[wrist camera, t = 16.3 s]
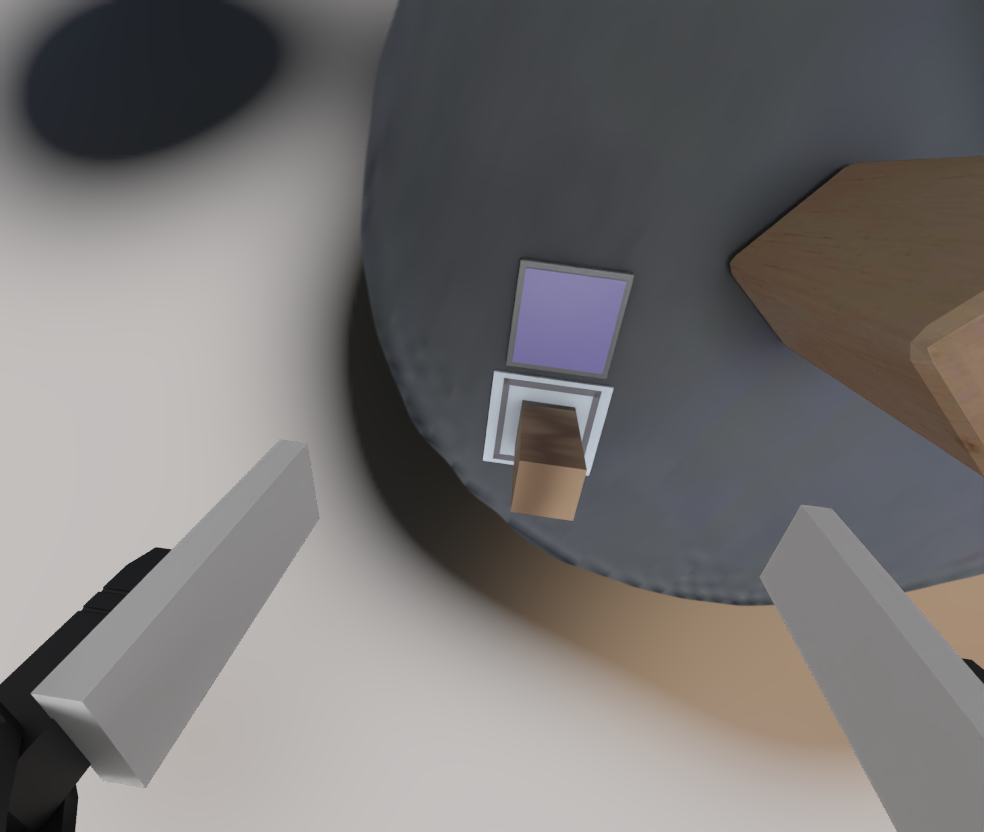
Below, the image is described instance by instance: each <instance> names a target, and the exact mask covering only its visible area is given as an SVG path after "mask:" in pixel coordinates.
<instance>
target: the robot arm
mask: <svg viewBox="0 0 984 832" xmlns="http://www.w3.org/2000/svg"><path fill="white" fill-rule="evenodd" d="M318 520H319V512H318V506H317V500H316V494H315V487H314V481H313V475H312V469H311V462H310V456H309V450H308V444H307V443H304V442H295V441H288V440H279V441H278V442H277V443H276V444H275V445H274V446H273V447H272V448H271V449H270V450H269V452H267V453H266V455H265V456H264V457H262V459H261V460H260V461H259V462H258V463H257V464H256V465H255V466H254V467H253V468H252V469H251V470H250V471H249V472H248V473H247V474H246V475H245V476H244V477H243V478H242V479H241V480H240V481H239V482H238V483H237V484H236V485H235V486H234V487H233V488H232V489H231V490H230V491H229V492H228V493H227V494H226V495H225V496H224V497H223V498H222V499H221V500H220V501H219V502H218V503H217V504H216V506H214V507H213V508H212V509H211V510H210V511H209V512H208V513H207V514H206V516H205V517H204V518H203V519H202V520H201V521H200V522H199V523H198V524H197V525H196V526H195V527H194V528H193V529H192V530H191V531H190V532H189V533H188V534H187V535H186V536H185V537H184V538H183V539H182V540H181V541H180V542H179V543H178V544H177V545H176V546H175V547H174V548H173V549H172V550H171V549H164V548H154V549H152V550H151V551H150V552H147V553H146V554H145V555H143V556H141V557H139V558H138V559H136V560H134V561H133V562H131V563H129V564H128V565H126V566H125V567H124V568H123V569H122V570H121V571H120V572H119V573H118V574H117V575H116V576H115V577H114V578H113V579H112V580H110V581H109V582H108V583H107V584H106V585H105V586H104V587H103V590H102V591H101V592H98V593H97V594H96V595H95V596H93V597H92V598H91V599H90V600H89V601H88V602H87V603H86V604H85V605H84V606H83V610H81V611H78V612H76V614H74V615H73V616H72V617H71V618H70V619H69V620H68V621H67V622H66V623H65V624H64V625H63V626H62V627H61V628H60V629H59V630H57V631H56V632H55V633H54V634H53V635H52V636H51V637H50V638H49V639H48V640H47V641H46V642H45V643H44V644H43V645H41V646H40V647H39V648H38V649H37V650H36V651H35V652H34V653H33V654H32V655H31V656H30V657H29V658H28V659H27V660H26V661H25V662H23V664H21V665H20V666H19V667H18V668H17V669H16V670H15V671H14V672H13V673H12V674H11V675H10V676H9V677H8V678H7V679H5V680H4V681H3V682H2V683H1V684H0V832H75V825H76V815H77V805H78V794H77V788H76V783H77V782H78V781H79V779H80V778H81V776H82V775H83V774H84V773H85V771H86V770H87V768H88V767H89V766H91V767H92V768H93V769H94V771H95V772H96V773H97V774H98V775H99V776H100V778H101V779H102V780H103V781H107V782H113V783H119V784H125V785H131V786H136V787H143V788H146V787H147V785H148V783H149V782H150V780H151V779H152V777H153V775H154V774H155V772H156V771H157V770H158V768H159V766H160V765H161V763H162V762H163V760H164V759H165V757H166V756H167V754H168V752H169V751H170V749H171V748H172V746H173V744H174V743H175V742H176V740H177V738H178V737H179V735H180V734H181V732H182V731H183V729H184V728H185V726H186V725H187V723H188V721H189V720H190V718H191V717H192V715H193V714H194V712H195V711H196V709H197V707H198V706H199V704H200V703H201V701H202V700H203V698H204V697H205V695H206V694H207V692H208V690H209V689H210V687H211V686H212V684H213V683H214V681H215V679H216V678H217V677H218V675H219V673H220V672H221V670H222V669H223V667H224V666H225V664H226V662H227V661H228V659H229V658H230V656H231V655H232V653H233V652H234V650H235V649H236V647H237V645H238V644H239V642H240V641H241V639H242V638H243V636H244V635H245V633H246V632H247V630H248V628H249V627H250V625H251V624H252V622H253V621H254V619H255V617H256V616H257V614H258V613H259V611H260V610H261V608H262V607H263V605H264V604H265V602H266V601H267V599H268V597H269V596H270V594H271V593H272V591H273V590H274V588H275V587H276V585H277V583H278V582H279V580H280V579H281V577H282V576H283V574H284V573H285V571H286V569H287V568H288V566H289V565H290V563H291V562H292V560H293V559H294V557H295V556H296V554H297V552H298V551H299V549H300V548H301V546H302V545H303V543H304V542H305V540H306V538H307V537H308V535H309V534H310V532H311V531H312V529H313V528H314V526H315V524H316V522H317V521H318ZM760 579H761V580H762V582H763V584H764V586H765V588H766V590H767V592H768V593H769V595H770V597H771V599H772V601H773V603H774V605H775V606H776V608H777V610H778V612H779V614H780V616H781V617H782V619H783V621H784V623H785V625H786V627H787V628H788V630H789V632H790V634H791V636H792V638H793V639H794V642H795V643H796V645H797V647H798V649H799V651H800V653H801V655H802V656H803V658H804V660H805V662H806V664H807V666H808V668H809V669H810V671H811V673H812V675H813V677H814V679H815V680H816V682H817V684H818V686H819V688H820V690H821V691H822V693H823V695H824V697H825V699H826V701H827V703H828V705H829V706H830V708H831V710H832V712H833V714H834V716H835V717H836V719H837V721H838V723H839V725H840V727H841V729H842V730H843V732H844V734H845V736H846V738H847V740H848V741H849V743H850V745H851V747H852V749H853V751H854V753H855V755H856V756H857V758H858V760H859V762H860V764H861V766H862V768H863V769H864V771H865V773H866V775H867V777H868V779H869V780H870V782H871V784H872V786H873V788H874V790H875V792H876V793H877V795H878V797H879V799H880V801H881V803H882V804H883V806H884V808H885V810H886V812H887V814H888V816H889V817H890V819H891V821H892V823H893V825H894V827H895V829H896V830H897V832H984V670H983V669H982V668H981V667H980V666H979V665H977V664H976V663H975V662H974V661H972V660H969V659H962V658H961V657H960V656H959V655H958V654H957V653H956V652H955V651H954V649H953V648H952V647H951V646H950V645H949V643H948V642H947V641H946V640H945V639H944V638H943V637H942V636H941V634H940V633H939V632H938V631H937V630H936V628H935V627H934V626H933V625H932V624H931V623H930V622H929V620H928V619H927V618H926V617H925V616H924V615H923V613H921V611H920V610H919V609H918V608H917V607H916V605H915V604H914V603H913V602H912V601H911V600H910V599H909V597H908V596H907V595H906V594H905V593H904V591H903V590H902V589H901V588H900V587H899V586H898V585H897V583H896V582H895V581H894V580H893V579H892V578H891V576H890V575H889V574H888V573H887V572H886V571H885V570H884V568H883V567H882V566H881V565H880V564H879V563H878V561H877V560H876V559H875V558H874V557H873V556H872V554H871V553H870V552H869V551H868V550H867V549H866V548H865V546H864V545H863V544H862V543H861V542H860V541H859V539H858V538H857V537H856V536H855V535H854V534H853V533H852V531H851V530H850V529H849V528H848V527H847V526H846V524H845V523H844V522H843V521H842V520H841V519H840V518H839V516H838V515H837V514H836V513H835V512H834V511H833V509H831V508H823V507H815V506H807V505H801V506H800V508H799V510H798V511H797V513H796V515H795V517H794V518H793V520H792V522H791V524H790V525H789V527H788V529H787V531H786V532H785V534H784V536H783V538H782V539H781V541H780V543H779V545H778V546H777V548H776V550H775V552H774V553H773V555H772V557H771V559H770V560H769V562H768V564H767V565H766V567H765V569H764V571H763V572H762V574H761V576H760Z"/></svg>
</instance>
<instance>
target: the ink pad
mask: <svg viewBox="0 0 984 832" xmlns="http://www.w3.org/2000/svg"><path fill="white" fill-rule="evenodd" d="M633 278H634V274H633V273H630V272H622V271H615V270H607V269H600V268H592V267H585V266H577V265H570V264H563V263H555V262H548V261H540V260H533V259H525V258H521V262H520V269H519V276H518V283H517V290H516V297H515V305H514V312H513V319H512V326H511V333H510V340H509V347H508V355H507V362H506V365H508V366H515V367H522V368H529V369H537V370H544V371H551V372H558V373H565V374H573V375H580V376H587V377H594V378H601V379H607V375H608V372H609V368H610V364H611V360H612V357H613V353H614V349H615V346H616V342H617V338H618V334H619V331H620V327H621V323H622V319H623V316H624V312H625V308H626V304H627V301H628V297H629V293H630V290H631V286H632V282H633Z"/></svg>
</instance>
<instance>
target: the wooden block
mask: <svg viewBox="0 0 984 832" xmlns="http://www.w3.org/2000/svg"><path fill="white" fill-rule="evenodd" d="M730 267H731V273H732V275H733V277H734V278H735V279H736V281H737V282H738V283H739V285H740V286H741V287H742V289H743V290H744V291H745V293H746V294H747V295H748V297H749V298H750V299H751V301H752V302H753V303H754V305H755V306H756V307H757V309H758V310H759V311H760V313H761V314H762V315H763V317H764V318H765V319H766V321H767V322H768V323H769V325H770V326H771V327H772V329H773V330H774V331H775V333H776V334H777V335H778V337H779V338H780V339H781V341H782V342H783V344H784V345H785V346H786V347H788V348H789V349H791V350H792V351H794V352H795V353H797V354H798V355H800V356H801V357H803V358H805V359H806V360H808V361H809V362H811V363H812V364H814V365H815V366H817V367H818V368H820V369H821V370H823V371H824V372H826V373H827V374H829V375H830V376H832V377H833V378H835V379H836V380H838V381H839V382H841V383H842V384H844V385H845V386H847V387H848V388H850V389H851V390H853V391H854V392H856V393H857V394H859V395H860V396H862V397H864V398H865V399H867V400H868V401H870V402H871V403H873V404H874V405H876V406H877V407H879V408H880V409H882V410H883V411H885V412H886V413H888V414H889V415H891V416H892V417H894V418H895V419H897V420H898V421H900V422H901V423H903V424H904V425H906V426H907V427H909V428H910V429H912V430H913V431H915V432H916V433H918V434H919V435H921V436H923V437H924V438H926V439H927V440H929V441H930V442H932V443H933V444H935V445H936V446H938V447H939V448H941V449H942V450H944V451H945V452H947V453H948V454H950V455H951V456H953V457H954V458H956V459H957V460H959V461H960V462H962V463H963V464H965V465H966V466H968V467H969V468H971V469H972V470H974V471H975V472H977V473H978V474H980V475H982V476H983V477H984V156H976V157H956V158H937V159H917V160H897V161H877V162H857V163H855V164H852V165H850V166H847V167H845V168H844V169H842V170H841V171H840V172H839V173H837V174H836V175H835V176H834V177H832V178H831V179H830V180H829V181H827V182H826V183H825V184H824V185H823V186H821V187H820V188H819V189H818V190H816V191H815V192H814V193H813V194H811V195H810V196H809V197H808V198H806V199H805V200H804V201H803V202H801V203H800V204H799V205H798V206H796V207H795V208H794V209H793V210H792V211H790V212H789V213H788V214H787V215H785V216H784V217H783V218H782V219H780V220H779V221H778V222H777V223H775V224H774V225H773V226H772V227H770V228H769V229H768V230H767V231H765V232H764V233H763V234H762V235H761V236H759V237H758V238H757V239H756V240H754V241H753V242H752V243H751V244H749V245H748V246H747V247H746V248H744V249H743V250H742V251H741V252H739V253H738V254H737V255H736V256H735V257H734V258H733V259H732V261H731V262H730Z"/></svg>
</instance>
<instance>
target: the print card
mask: <svg viewBox="0 0 984 832" xmlns="http://www.w3.org/2000/svg"><path fill="white" fill-rule="evenodd" d="M613 389H614V387H613V386H608V385H601V384H594V383H587V382H579V381H572V380H565V379H558V378H551V377H543V376H536V375H529V374H522V373H515V372H508V371H500V370H494V376H493V384H492V392H491V400H490V408H489V416H488V424H487V431H486V439H485V447H484V455H483V461H490V462H497V463H504V464H511V465H514V453H515V442H516V436H517V430H518V424H519V418H520V412H521V406H522V400H527V401H534V402H541V403H548V404H555V405H562V406H569V407H575V409H576V414H577V419H578V425H579V430H580V436H581V441H582V446H583V452H584V457H585V463H586V468H587V472H586V475H588V476H589V475H590V471H591V467H592V464H593V460H594V457H595V453H596V450H597V446H598V442H599V439H600V435H601V432H602V428H603V425H604V421H605V417H606V414H607V410H608V407H609V403H610V400H611V396H612V392H613Z"/></svg>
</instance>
